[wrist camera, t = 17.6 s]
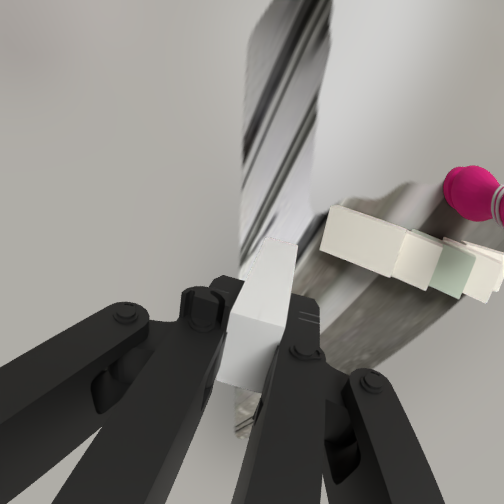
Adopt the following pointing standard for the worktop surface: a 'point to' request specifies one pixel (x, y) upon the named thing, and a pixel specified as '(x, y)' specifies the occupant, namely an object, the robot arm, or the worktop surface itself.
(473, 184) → the pepper mill
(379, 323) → the worktop surface
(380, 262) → the tile
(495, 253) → the tile
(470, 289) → the tile
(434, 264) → the tile
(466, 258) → the tile
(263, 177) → the worktop surface
